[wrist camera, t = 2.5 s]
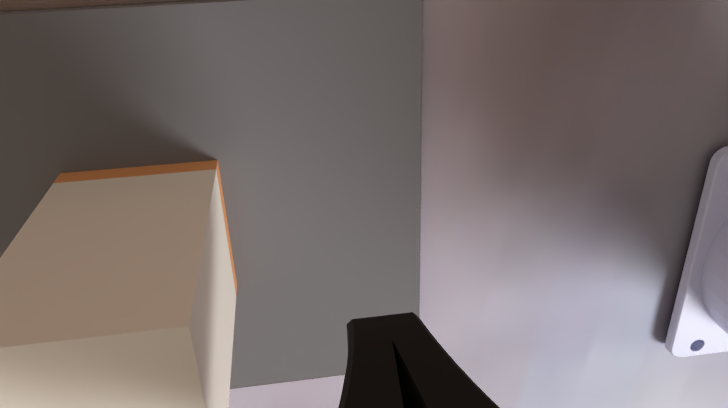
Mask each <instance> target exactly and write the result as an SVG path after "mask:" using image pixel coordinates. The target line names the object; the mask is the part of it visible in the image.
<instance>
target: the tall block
mask: <svg viewBox="0 0 728 408" xmlns="http://www.w3.org/2000/svg"><path fill="white" fill-rule="evenodd" d="M236 293H237V281H236V274H235V268H234V261H233V255H232V248H231V242H230V236H229V229H228V223H227V216H226V210H225V203H224V197H223V190H222V184H221V177H220V171H219V165H218V160H212V161H200V162H188V163H176V164H164V165H153V166H141V167H129V168H117V169H105V170H94V171H82V172H70V173H60V174H59V176H58V177H57V179H56V180H55V181H54V183H53V184H52V186H51V187H50V188H49V190H48V191H47V193H46V194H45V195H44V197H43V198H42V200H41V201H40V203H39V204H38V205H37V207H36V208H35V210H34V211H33V212H32V214H31V215H30V217H29V218H28V219H27V221H26V222H25V224H24V225H23V226H22V228H21V229H20V231H19V232H18V234H17V235H16V236H15V238H14V239H13V241H12V242H11V243H10V245H9V246H8V248H7V249H6V250H5V252H4V253H3V255H2V256H1V258H0V408H228V406H229V392H230V378H231V364H232V350H233V336H234V322H235V307H236Z"/></svg>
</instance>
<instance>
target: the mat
mask: <svg viewBox="0 0 728 408" xmlns="http://www.w3.org/2000/svg"><path fill="white" fill-rule="evenodd" d="M422 25H423V0H199V1H181V2H163V3H146V4H128V5H111V6H93V7H75V8H58V9H40V10H23V11H5V12H0V258H1V256H2V255H3V253H4V252H5V250H6V249H7V248H8V246H9V245H10V243H11V242H12V241H13V239H14V238H15V236H16V235H17V234H18V232H19V231H20V229H21V228H22V226H23V225H24V224H25V222H26V221H27V219H28V218H29V217H30V215H31V214H32V212H33V211H34V210H35V208H36V207H37V205H38V204H39V203H40V201H41V200H42V198H43V197H44V195H45V194H46V193H47V191H48V190H49V188H50V187H51V186H52V184H53V183H54V181H55V180H56V179H57V177H58V176H59V174H60V173H70V172H82V171H94V170H105V169H117V168H129V167H141V166H153V165H164V164H176V163H188V162H200V161H212V160H218V165H219V171H220V177H221V184H222V190H223V197H224V203H225V210H226V216H227V223H228V229H229V236H230V242H231V248H232V255H233V261H234V268H235V274H236V281H237V293H236V307H235V322H234V336H233V350H232V364H231V378H230V389H234V388H242V387H250V386H258V385H266V384H274V383H282V382H290V381H298V380H306V379H314V378H322V377H330V376H338V375H345V373H346V367H347V358H348V342H347V324H348V323H349V322H350V321H351V320H352V319H358V318H366V317H375V316H384V315H392V314H401V313H409V312H413V313H414V314H416V315H417V316H418V317H419V300H420V208H421V117H422Z"/></svg>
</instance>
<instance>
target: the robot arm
mask: <svg viewBox="0 0 728 408" xmlns="http://www.w3.org/2000/svg"><path fill="white" fill-rule="evenodd" d="M347 342H348V358H347V367H346V373H345V379H344V384H343V390H342V395H341V400H340V404H339V408H499V407H498V406H497V405H496V404H495V403H494V402H493V401H492V400H491V399H490V398H489V397H488V396H487V395H486V394H485V393H484V392H483V391H482V390H481V389H480V388H479V387H478V386H477V385H476V384H475V383H474V382H473V381H472V380H471V379H470V378H469V377H468V376H467V374H466V373H465V372H464V371H463V370H462V369H461V368H460V367H459V366H458V365H457V364H456V363H455V361H454V360H453V359H452V358H451V357H450V356H449V355H448V353H447V352H446V351H445V350H444V349H443V348H442V346H441V345H440V344H439V343H438V342H437V340H436V339H435V338H434V337H433V335H432V334H431V333H430V332H429V330H428V329H427V328H426V326H425V325H424V324H423V323H422V321H421V320H420V318H419V317H418V316H417V315H416V314H414V313H413V312H409V313H401V314H392V315H384V316H375V317H366V318H358V319H352V320H351V321H350V322H349V323H348V324H347ZM665 347H666V349H667V350H668V351H669V352H670V353H671V355H673V356H675V357H686V356H693V355H701V354H709V353H717V352H724V351H728V146H726V147H723V148H721V149H719V150H718V151H717V152H716V153H715V154H714V155H713V156H712V158H711V161H710V163H709V167H708V171H707V176H706V180H705V184H704V188H703V192H702V196H701V200H700V204H699V208H698V212H697V216H696V220H695V224H694V228H693V232H692V236H691V240H690V244H689V248H688V252H687V256H686V260H685V264H684V269H683V273H682V277H681V281H680V285H679V289H678V293H677V297H676V301H675V305H674V309H673V313H672V317H671V321H670V325H669V329H668V333H667V337H666V341H665Z"/></svg>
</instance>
